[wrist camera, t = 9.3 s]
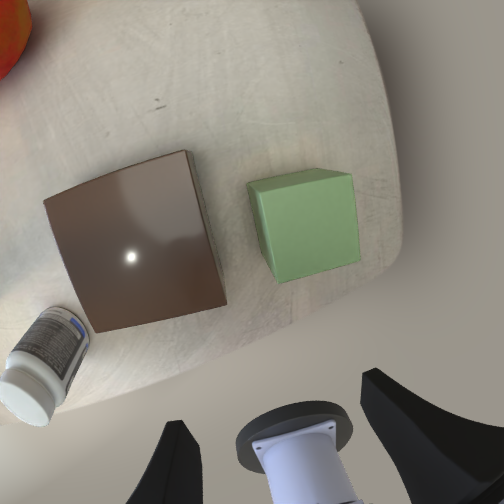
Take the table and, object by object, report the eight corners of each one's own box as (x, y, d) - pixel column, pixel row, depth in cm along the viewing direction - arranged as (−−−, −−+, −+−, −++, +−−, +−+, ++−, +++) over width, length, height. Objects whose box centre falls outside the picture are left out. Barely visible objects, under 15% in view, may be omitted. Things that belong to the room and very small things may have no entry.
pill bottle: (33, 304, 17) (-22, 370, 9) (80, 305, 18) (30, 382, 10) (52, 353, 19) (13, 423, 11) (97, 356, 19) (66, 437, 11)
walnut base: (223, 275, 18) (227, 305, 15) (113, 301, 18) (95, 334, 14) (191, 150, 16) (186, 148, 12) (73, 190, 15) (41, 200, 11)
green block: (328, 236, 19) (361, 260, 14) (261, 253, 18) (278, 284, 14) (317, 168, 17) (352, 173, 13) (246, 182, 17) (259, 192, 12)
